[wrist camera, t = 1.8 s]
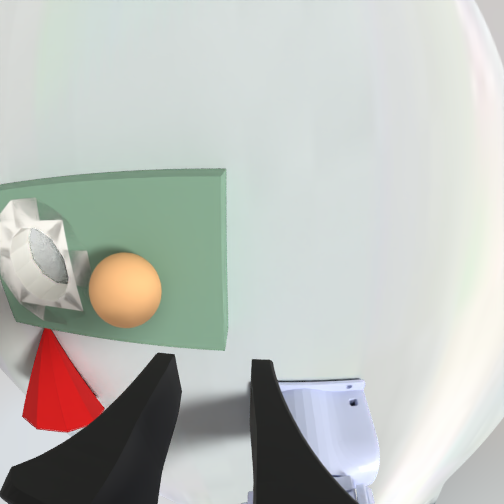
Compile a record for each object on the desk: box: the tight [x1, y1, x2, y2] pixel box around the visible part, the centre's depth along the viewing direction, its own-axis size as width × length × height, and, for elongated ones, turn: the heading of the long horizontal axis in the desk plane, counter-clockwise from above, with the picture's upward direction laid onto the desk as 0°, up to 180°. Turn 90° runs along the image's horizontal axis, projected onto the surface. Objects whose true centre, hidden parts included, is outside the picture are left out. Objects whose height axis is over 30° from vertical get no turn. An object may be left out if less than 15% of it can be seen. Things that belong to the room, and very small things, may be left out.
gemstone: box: [22, 328, 105, 432], centre depth 23 cm, size 9×9×10 cm
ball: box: [89, 252, 162, 328], centre depth 15 cm, size 4×4×4 cm
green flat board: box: [0, 169, 228, 351], centre depth 18 cm, size 18×11×2 cm, turn 89°
